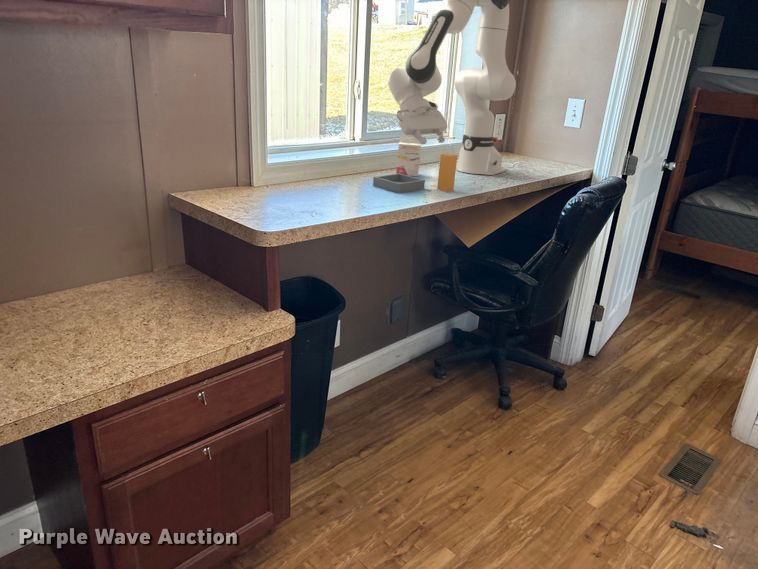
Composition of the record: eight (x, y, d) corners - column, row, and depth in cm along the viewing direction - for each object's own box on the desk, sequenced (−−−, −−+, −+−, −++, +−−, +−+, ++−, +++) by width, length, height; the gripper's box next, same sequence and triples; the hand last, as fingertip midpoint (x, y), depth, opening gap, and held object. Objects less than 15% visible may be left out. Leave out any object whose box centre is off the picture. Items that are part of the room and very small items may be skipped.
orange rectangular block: (444, 187, 197) (448, 153, 192) (453, 190, 194) (457, 155, 190) (437, 189, 194) (440, 154, 190) (446, 191, 192) (449, 156, 187)
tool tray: (398, 181, 202) (399, 173, 201) (424, 188, 194) (425, 180, 192) (372, 185, 194) (373, 176, 192) (398, 193, 185) (399, 184, 184)
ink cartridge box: (395, 174, 213) (398, 135, 207) (396, 172, 218) (399, 133, 212) (418, 176, 213) (421, 136, 207) (418, 174, 217) (422, 135, 211)
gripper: (399, 104, 187) (418, 138, 184) (439, 103, 200) (457, 135, 197) (389, 116, 191) (407, 149, 189) (429, 115, 205) (446, 146, 202)
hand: (433, 142), depth 193 cm, fingers open, 8 cm apart
